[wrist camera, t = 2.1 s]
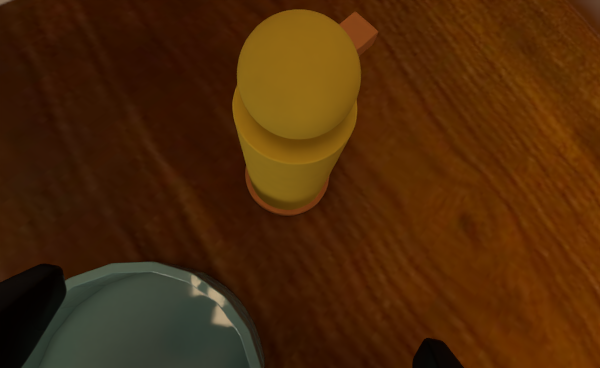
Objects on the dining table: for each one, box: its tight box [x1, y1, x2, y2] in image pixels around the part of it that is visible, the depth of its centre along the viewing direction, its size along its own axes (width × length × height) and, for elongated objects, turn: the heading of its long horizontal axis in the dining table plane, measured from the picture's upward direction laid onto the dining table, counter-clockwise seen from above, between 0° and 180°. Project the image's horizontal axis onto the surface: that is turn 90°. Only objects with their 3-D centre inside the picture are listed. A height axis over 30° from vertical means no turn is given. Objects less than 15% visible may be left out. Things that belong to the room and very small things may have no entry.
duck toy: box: [233, 10, 378, 216], centre depth 16 cm, size 6×6×14 cm
